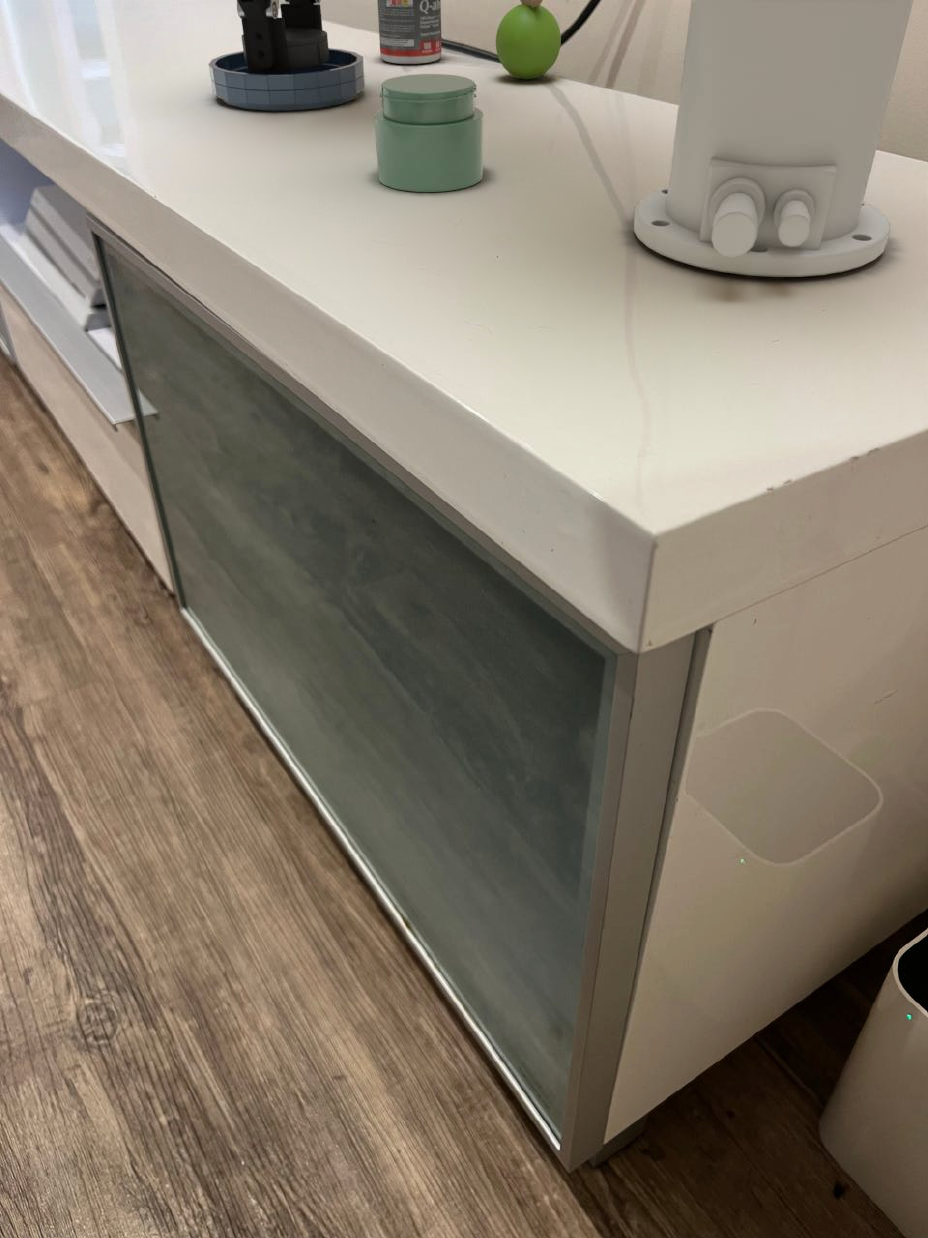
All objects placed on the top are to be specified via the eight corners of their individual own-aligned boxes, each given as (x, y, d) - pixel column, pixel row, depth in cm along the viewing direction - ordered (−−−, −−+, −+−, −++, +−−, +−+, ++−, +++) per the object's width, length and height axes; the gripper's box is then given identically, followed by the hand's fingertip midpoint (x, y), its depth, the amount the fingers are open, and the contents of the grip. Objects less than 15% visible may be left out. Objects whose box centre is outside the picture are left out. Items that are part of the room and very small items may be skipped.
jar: (468, 195, 55) (468, 96, 52) (364, 188, 56) (357, 91, 53) (493, 165, 60) (494, 74, 56) (396, 160, 61) (391, 69, 58)
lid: (347, 58, 75) (344, 30, 74) (293, 72, 71) (290, 43, 70) (282, 51, 78) (279, 25, 77) (227, 64, 74) (223, 36, 73)
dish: (334, 115, 70) (331, 77, 69) (188, 108, 73) (181, 71, 71) (384, 83, 79) (382, 49, 78) (252, 77, 82) (248, 44, 80)
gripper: (256, -227, 71) (287, 50, 82) (138, -240, 58) (195, 90, 69) (350, -230, 69) (369, 52, 81) (252, -244, 56) (290, 94, 68)
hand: (288, 67), depth 75 cm, fingers closed on lid, 6 cm apart
